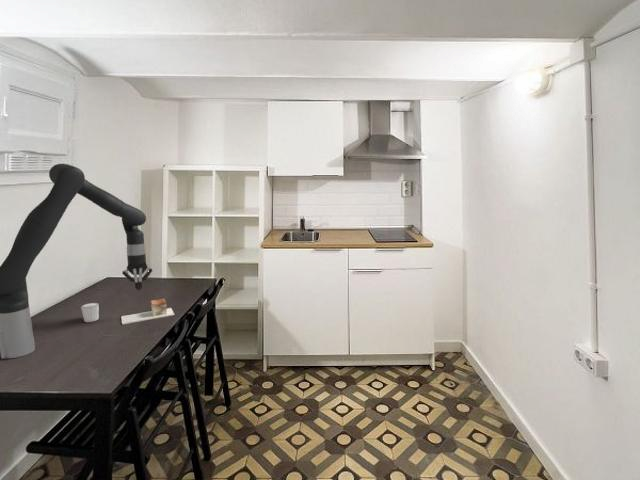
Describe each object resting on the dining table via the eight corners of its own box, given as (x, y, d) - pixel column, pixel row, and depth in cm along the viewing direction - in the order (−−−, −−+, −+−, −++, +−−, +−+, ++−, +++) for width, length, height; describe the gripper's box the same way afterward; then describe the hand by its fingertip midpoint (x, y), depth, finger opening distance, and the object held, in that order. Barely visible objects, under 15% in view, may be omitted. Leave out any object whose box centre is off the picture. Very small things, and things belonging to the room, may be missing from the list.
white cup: (94, 322, 159) (92, 308, 158) (79, 322, 159) (77, 307, 158) (103, 316, 166) (101, 302, 165) (89, 316, 166) (87, 302, 165)
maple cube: (166, 302, 167) (167, 314, 168) (164, 298, 172) (165, 310, 173) (152, 304, 164) (153, 316, 165) (150, 300, 169) (151, 312, 170)
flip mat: (122, 324, 157) (122, 323, 157) (121, 317, 165) (121, 316, 165) (174, 315, 168) (174, 314, 168) (171, 308, 176) (171, 307, 176)
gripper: (120, 256, 154) (122, 293, 157) (153, 253, 161) (155, 289, 164) (119, 253, 161) (122, 289, 163) (151, 250, 167) (153, 285, 170)
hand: (138, 289), depth 164 cm, fingers closed
